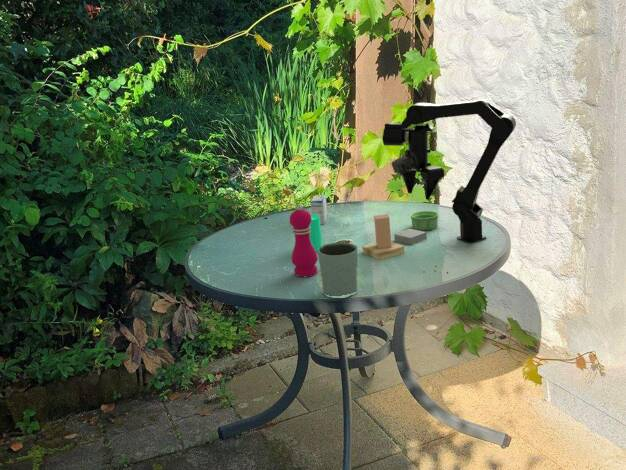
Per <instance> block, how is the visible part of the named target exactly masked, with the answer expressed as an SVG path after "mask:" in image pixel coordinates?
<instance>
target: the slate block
mask: <svg viewBox="0 0 626 470" xmlns="http://www.w3.org/2000/svg"><path fill="white" fill-rule="evenodd" d="M393 236H394V237H393V238H394V241H395V242H400V243H404V244H407V245H413V244H414V245H415V244H417V243H419V242H422V241H424V240H427V239H428V238H427V237H428V235H427V232H426V231H424V230H416V229H414V228H407V229H404V230H402V231H400V232H396V233H394V234H393Z"/></svg>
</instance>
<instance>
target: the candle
mask: <svg viewBox="0 0 626 470" xmlns="http://www.w3.org/2000/svg"><path fill="white" fill-rule="evenodd" d="M308 212H309V211H308ZM309 213H310V215H311V218H312V221H311V223H310V225H309V226H310V227H311V228H310V230H311V232H310V241H311V244H312V246H313V248H314V249H315V251H316V253H318V248H320V247H321V246H323V238H322V227H321V226H322V224H320V216H319V215H316V214H313V215H312V214H311V211H310V212H309Z"/></svg>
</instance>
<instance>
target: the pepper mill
mask: <svg viewBox="0 0 626 470" xmlns="http://www.w3.org/2000/svg"><path fill="white" fill-rule="evenodd" d="M295 208H296V210H294V211H292V213H291V214H290V215H289V224H290V225H291V226H292V233H293V234H294V239H295V240H294V242H295V243H294V247H293V249H292V252H291V253H292V254H291V262H292V265H294V266H295V267H294V274H296V275H299V276H310V277H312V276H311V275H313V276H315V275H316V274H317V273H318V268H317V265H316V263H317V262H318V261H319V257H318V252H316V251H315V249H314V248H313V246H312V244H311V241H310V232H311V230H310V228H311V227H310V226H309V225H310V223H311V221H312V218H311V215H312V214H311V212H310V213H309V211H308V210H306V209H303V208H304V207H303V205H302V204H300V203H299V204H296V206H295ZM314 274H315V275H314ZM296 275H295V276H296Z"/></svg>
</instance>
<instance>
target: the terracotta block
mask: <svg viewBox="0 0 626 470" xmlns="http://www.w3.org/2000/svg"><path fill="white" fill-rule="evenodd" d="M373 221H374V231H375V243H376V245H377V247H378V249H380V248H389V247H392V246H391V241H392V237H391V236H392V235H391V234H392V233H391V223H390V217H389V214H388V213H387V214H378V215H373Z"/></svg>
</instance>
